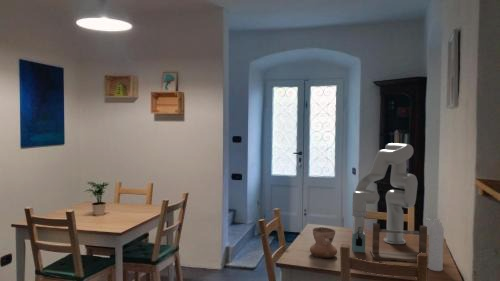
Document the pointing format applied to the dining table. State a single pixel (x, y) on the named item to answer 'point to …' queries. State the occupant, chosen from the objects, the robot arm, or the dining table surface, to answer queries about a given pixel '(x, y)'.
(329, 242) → the ceramic jug
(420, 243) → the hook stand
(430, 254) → the water bottle
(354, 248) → the saddle hanger
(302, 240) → the dining table surface
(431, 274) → the dining table surface
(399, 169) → the robot arm
